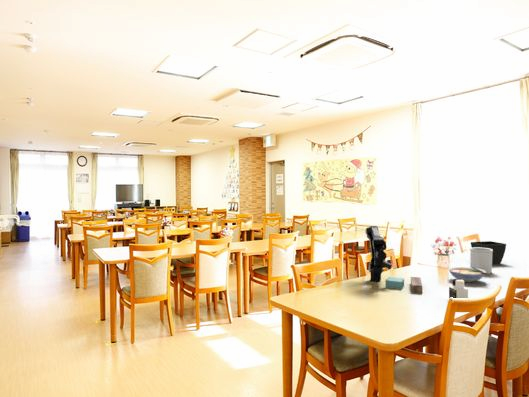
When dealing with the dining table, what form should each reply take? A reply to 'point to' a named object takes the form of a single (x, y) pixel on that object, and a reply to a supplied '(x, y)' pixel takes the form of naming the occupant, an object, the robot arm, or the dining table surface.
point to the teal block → (394, 282)
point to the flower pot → (495, 246)
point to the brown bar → (416, 285)
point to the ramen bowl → (467, 273)
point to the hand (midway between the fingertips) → (379, 280)
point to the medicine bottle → (458, 289)
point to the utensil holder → (481, 258)
